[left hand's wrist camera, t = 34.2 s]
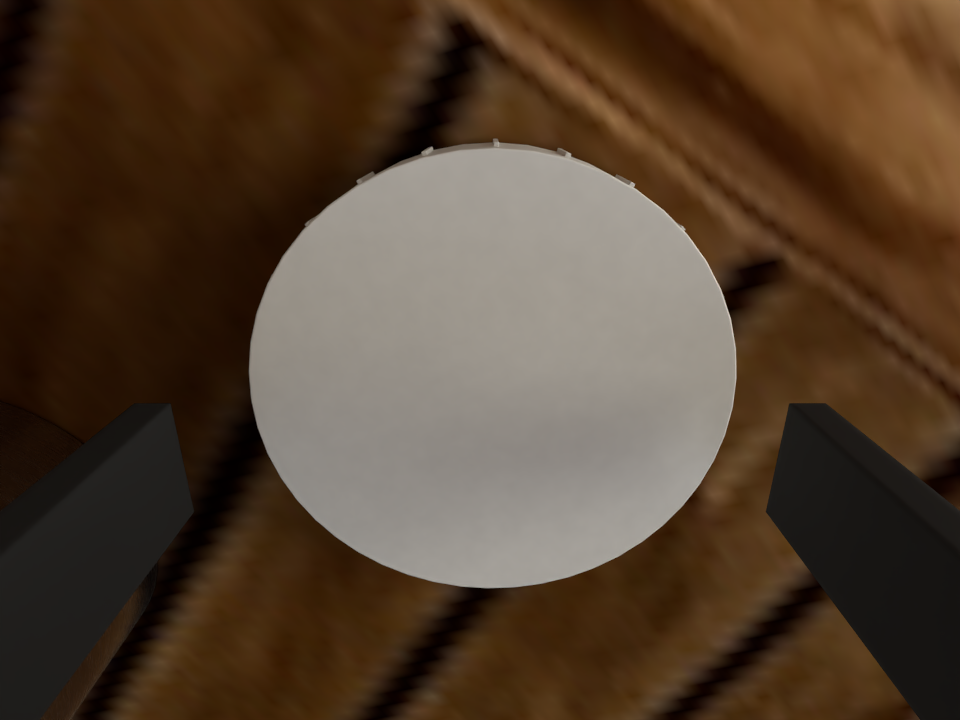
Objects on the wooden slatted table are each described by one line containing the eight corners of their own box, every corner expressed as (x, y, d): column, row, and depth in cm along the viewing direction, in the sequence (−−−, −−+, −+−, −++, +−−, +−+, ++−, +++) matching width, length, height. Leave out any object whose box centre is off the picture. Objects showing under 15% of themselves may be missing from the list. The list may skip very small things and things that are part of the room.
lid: (781, 406, 16) (822, 447, 14) (453, 593, 19) (449, 649, 17) (546, 26, 12) (558, 11, 10) (186, 326, 15) (142, 358, 13)
